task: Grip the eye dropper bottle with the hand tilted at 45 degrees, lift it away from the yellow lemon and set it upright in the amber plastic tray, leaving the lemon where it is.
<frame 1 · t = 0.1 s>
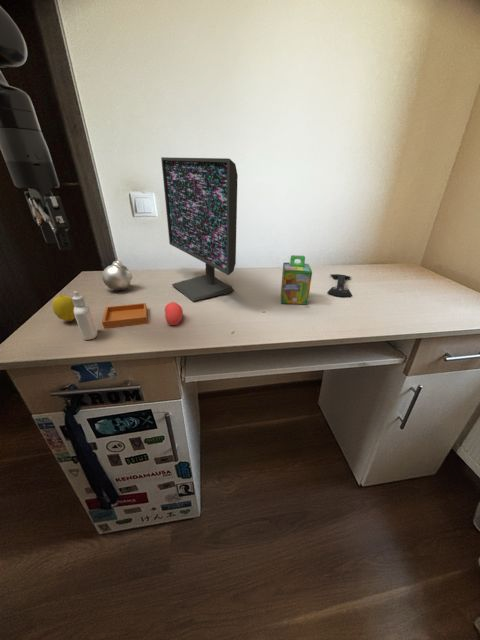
hand: (59, 246, 63), 22 cm above the table, tool pointing down, fingers open, 8 cm apart
amber tray: (127, 317, 83), on the table
lemon: (70, 321, 80), on the table
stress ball: (174, 320, 83), on the table
silver rounded lump: (121, 290, 101), on the table
computer monitor: (202, 290, 103), on the table
dark flared piece: (339, 286, 112), on the table
eye dropper bottle: (90, 335, 74), on the table
chalk box: (293, 299, 99), on the table
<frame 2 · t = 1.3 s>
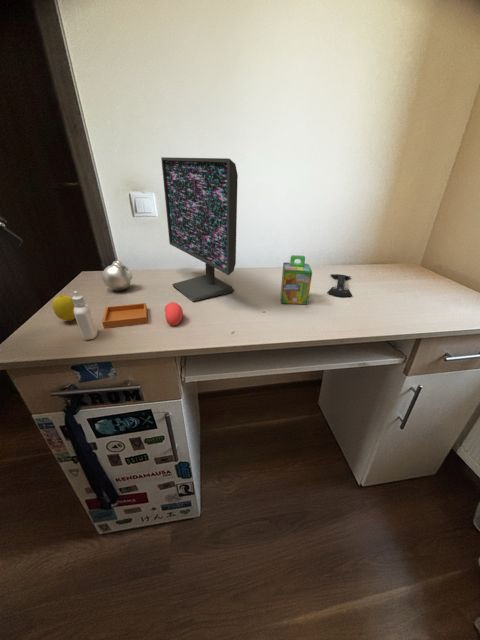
hand: (8, 249, 58), 23 cm above the table, tool tilted 45°, fingers open, 8 cm apart
nothing on the table moved.
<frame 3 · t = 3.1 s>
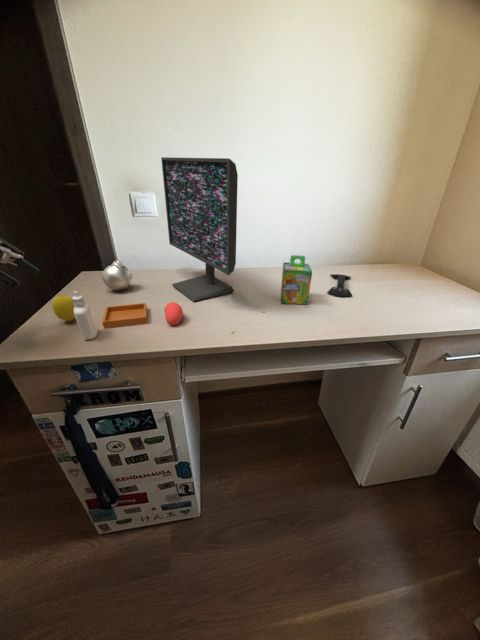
hand: (27, 279, 64), 15 cm above the table, tool tilted 45°, fingers open, 8 cm apart
nothing on the table moved.
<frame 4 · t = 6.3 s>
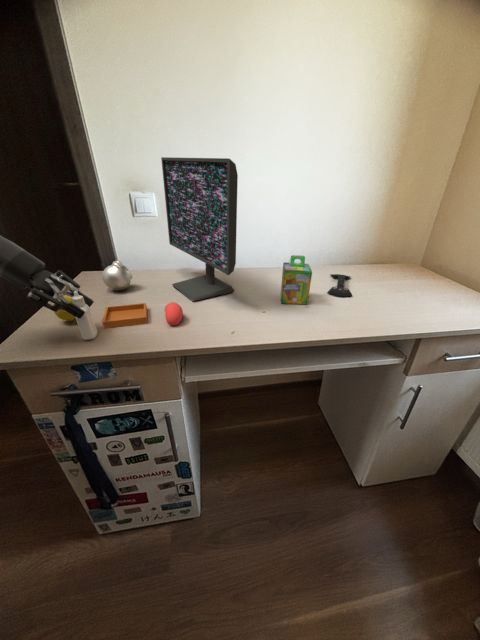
hand: (87, 309, 70), 7 cm above the table, tool tilted 45°, fingers closed on eye dropper bottle, 5 cm apart
eye dropper bottle: (90, 335, 74), on the table, touching gripper
everything else where it was.
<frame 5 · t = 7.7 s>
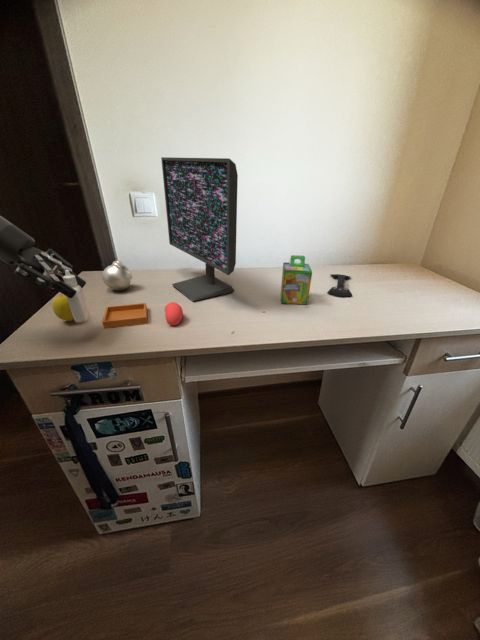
hand: (79, 290, 67), 12 cm above the table, tool tilted 45°, fingers closed on eye dropper bottle, 5 cm apart
eye dropper bottle: (82, 318, 71), point 5 cm above the table, touching gripper
everything else where it was.
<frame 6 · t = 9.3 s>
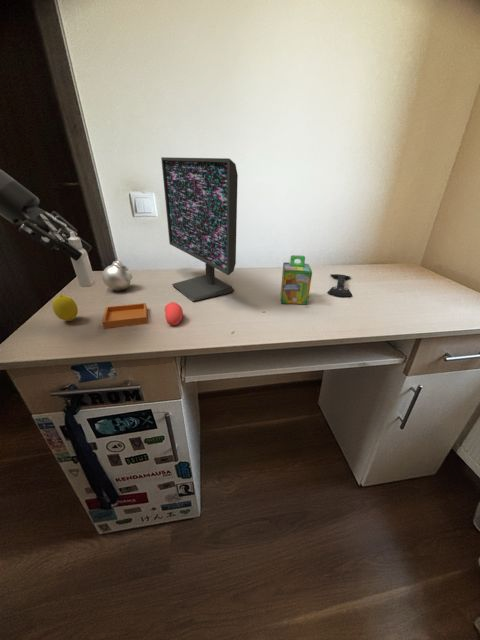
hand: (84, 253, 66), 20 cm above the table, tool tilted 45°, fingers closed on eye dropper bottle, 5 cm apart
eye dropper bottle: (87, 284, 70), point 13 cm above the table, touching gripper
everything else where it was.
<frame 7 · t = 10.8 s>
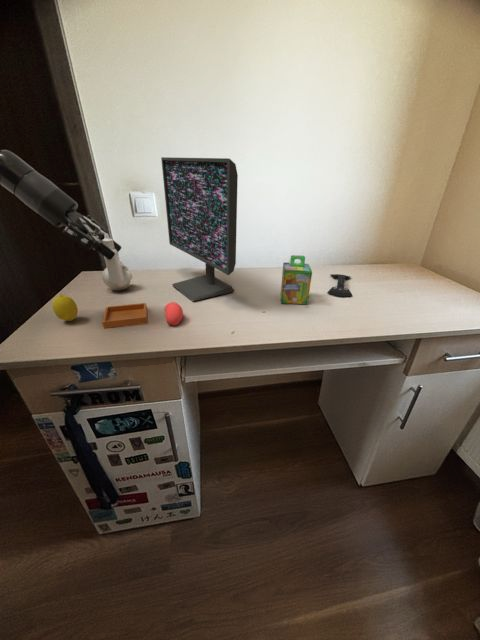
hand: (116, 253, 72), 19 cm above the table, tool tilted 45°, fingers closed on eye dropper bottle, 5 cm apart
eye dropper bottle: (117, 281, 76), point 11 cm above the table, touching gripper
everything else where it was.
when the fingers open (8 cm above the table, at t = 14.2 s): eye dropper bottle stays where it is, resting on amber tray.
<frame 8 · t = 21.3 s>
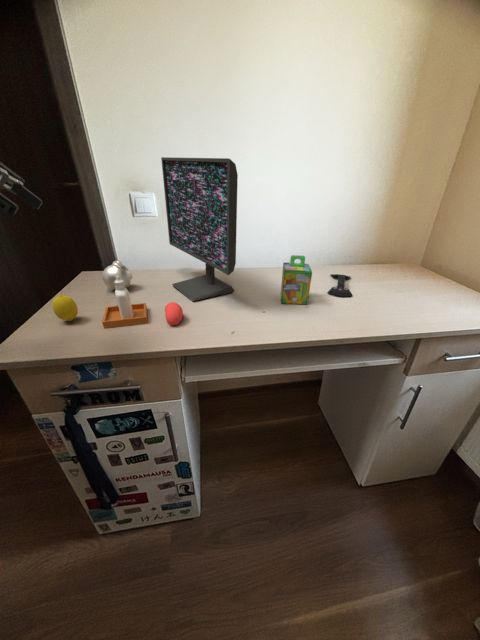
hand: (28, 208, 52), 31 cm above the table, tool tilted 45°, fingers open, 8 cm apart
eye dropper bottle: (127, 317, 82), resting on amber tray
everything else where it was.
at the end: eye dropper bottle inside the target area in the amber tray (0.3 cm from its centre), point 0.3 cm above the amber tray's base; eye dropper bottle tilted 0°; lemon moved 0.2 cm from its start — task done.
